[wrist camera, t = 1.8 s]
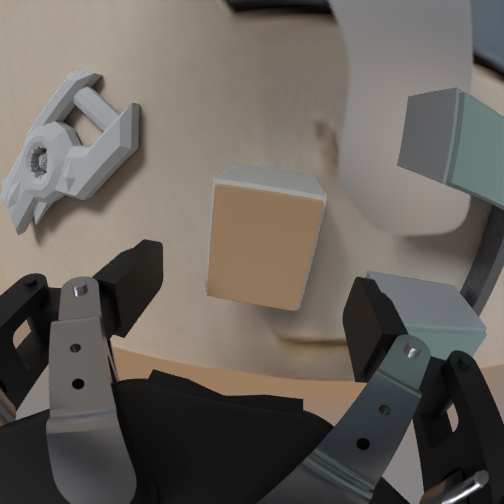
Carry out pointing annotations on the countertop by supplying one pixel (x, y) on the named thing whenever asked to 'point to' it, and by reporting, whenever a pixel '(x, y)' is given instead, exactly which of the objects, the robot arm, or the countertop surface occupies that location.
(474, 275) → the rail
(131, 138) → the grey flat plastic piece
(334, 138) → the countertop surface
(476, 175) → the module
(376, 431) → the robot arm
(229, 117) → the countertop surface
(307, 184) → the block
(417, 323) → the block
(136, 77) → the countertop surface
